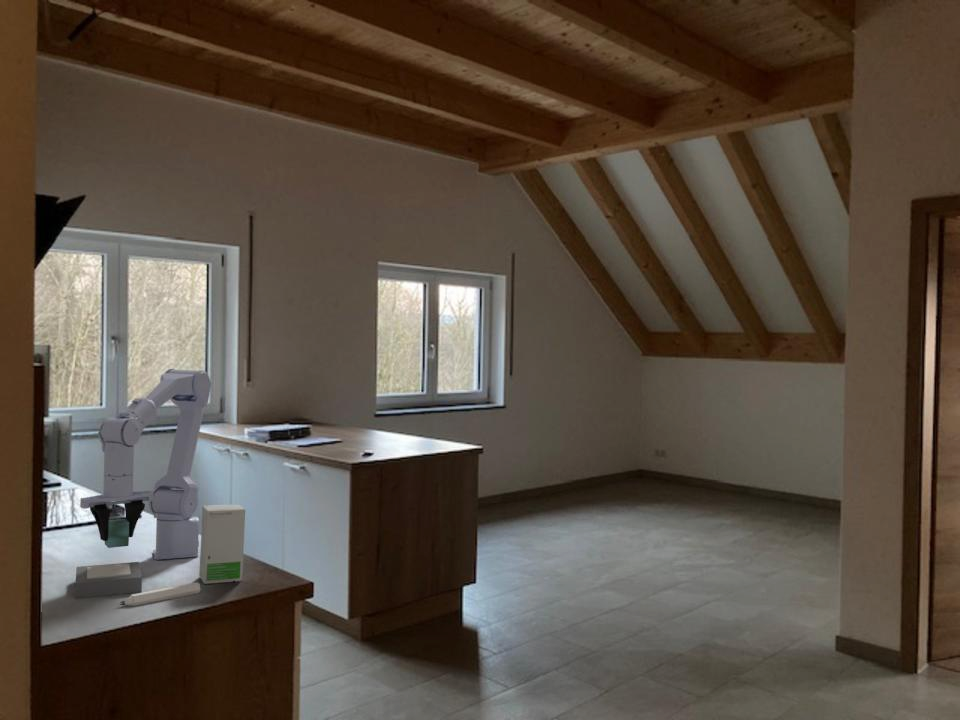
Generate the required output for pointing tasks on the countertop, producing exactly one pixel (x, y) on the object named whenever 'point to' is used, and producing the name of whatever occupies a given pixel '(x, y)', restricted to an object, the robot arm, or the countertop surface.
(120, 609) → the countertop surface
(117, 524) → the teal block
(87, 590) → the charcoal plinth
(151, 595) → the marker
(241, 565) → the skincare box
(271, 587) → the countertop surface
